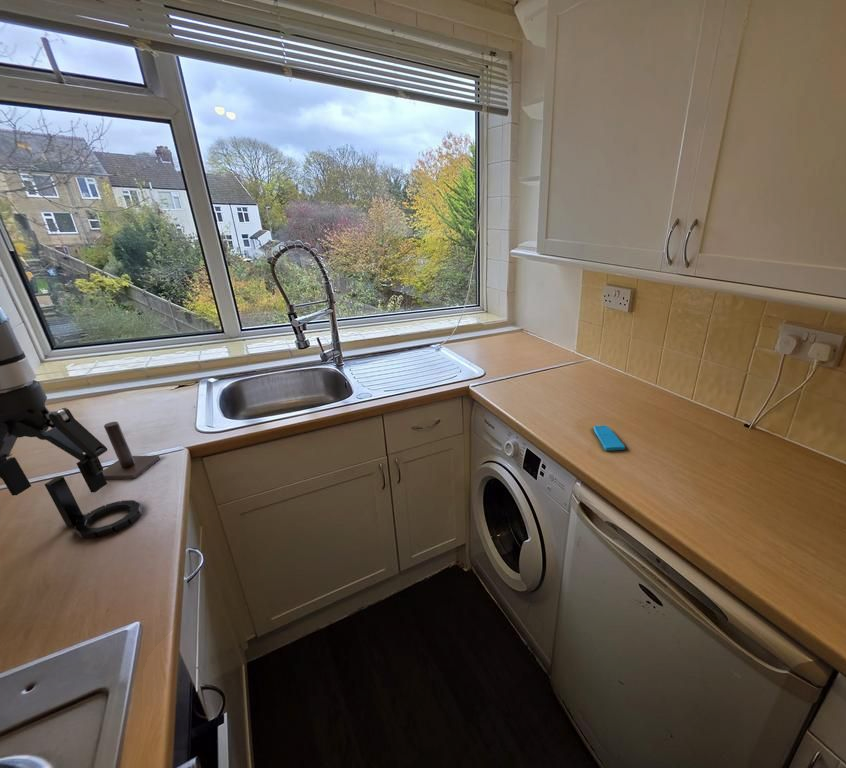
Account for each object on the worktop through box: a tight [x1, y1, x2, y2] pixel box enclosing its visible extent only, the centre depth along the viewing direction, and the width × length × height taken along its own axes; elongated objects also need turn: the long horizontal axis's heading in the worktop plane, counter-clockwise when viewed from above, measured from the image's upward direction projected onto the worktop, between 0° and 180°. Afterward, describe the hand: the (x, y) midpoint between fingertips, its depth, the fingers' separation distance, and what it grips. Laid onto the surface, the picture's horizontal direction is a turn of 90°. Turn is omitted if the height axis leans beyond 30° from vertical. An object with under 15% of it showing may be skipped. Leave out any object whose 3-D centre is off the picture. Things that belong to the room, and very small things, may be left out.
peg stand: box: [102, 421, 161, 480], centre depth 93 cm, size 8×8×12 cm
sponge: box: [593, 425, 626, 452], centre depth 112 cm, size 2×12×6 cm
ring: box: [44, 476, 143, 540], centre depth 78 cm, size 12×9×10 cm
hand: (61, 489), depth 76 cm, fingers open, 13 cm apart
